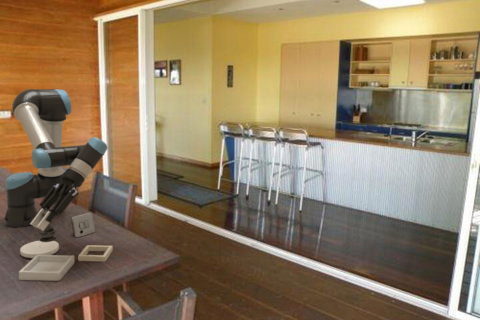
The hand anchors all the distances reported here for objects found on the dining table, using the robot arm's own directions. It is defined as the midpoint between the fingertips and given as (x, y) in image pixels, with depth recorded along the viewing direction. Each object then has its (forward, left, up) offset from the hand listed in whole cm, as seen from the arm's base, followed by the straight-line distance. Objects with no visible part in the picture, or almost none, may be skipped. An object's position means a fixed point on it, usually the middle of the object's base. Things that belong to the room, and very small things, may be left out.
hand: (36, 227), depth 144 cm
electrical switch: (-39, +2, -18) cm, 43 cm away
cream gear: (-19, -8, -19) cm, 28 cm away
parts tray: (-3, +2, -18) cm, 18 cm away
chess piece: (-3, +2, -6) cm, 7 cm away
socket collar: (-17, +15, -18) cm, 29 cm away
